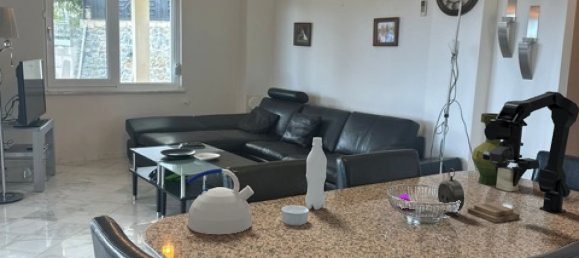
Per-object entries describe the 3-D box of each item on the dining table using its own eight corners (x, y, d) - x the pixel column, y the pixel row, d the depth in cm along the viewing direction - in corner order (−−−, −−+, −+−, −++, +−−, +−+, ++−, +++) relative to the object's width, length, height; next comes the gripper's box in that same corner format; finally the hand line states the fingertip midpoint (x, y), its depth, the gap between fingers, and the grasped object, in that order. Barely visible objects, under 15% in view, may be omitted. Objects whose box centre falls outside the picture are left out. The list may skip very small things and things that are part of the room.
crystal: (394, 205, 197) (394, 193, 196) (407, 205, 198) (408, 192, 197) (400, 210, 192) (401, 197, 191) (414, 209, 193) (415, 196, 192)
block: (505, 186, 187) (507, 166, 186) (518, 190, 183) (520, 169, 182) (496, 187, 185) (498, 167, 184) (508, 191, 181) (510, 170, 180)
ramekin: (291, 216, 181) (291, 203, 181) (313, 221, 176) (314, 208, 176) (275, 222, 174) (276, 209, 173) (298, 228, 169) (298, 215, 168)
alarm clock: (464, 218, 184) (467, 171, 182) (449, 218, 183) (453, 172, 181) (447, 208, 195) (450, 164, 192) (433, 209, 193) (436, 165, 191)
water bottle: (301, 208, 189) (304, 138, 186) (308, 203, 196) (311, 135, 192) (321, 211, 187) (324, 140, 183) (327, 206, 193) (330, 137, 189)
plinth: (491, 209, 196) (492, 201, 195) (519, 218, 185) (520, 210, 185) (467, 212, 190) (468, 204, 190) (494, 222, 180) (495, 214, 179)
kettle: (253, 235, 161) (254, 176, 159) (182, 235, 160) (183, 175, 157) (253, 215, 181) (254, 162, 179) (190, 214, 180) (190, 161, 177)
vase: (472, 186, 229) (478, 116, 225) (467, 177, 245) (472, 111, 240) (513, 188, 226) (520, 117, 222) (505, 179, 242) (511, 113, 238)
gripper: (473, 135, 186) (469, 180, 188) (520, 145, 170) (515, 193, 172) (495, 134, 191) (491, 177, 193) (542, 143, 175) (537, 190, 177)
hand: (507, 184), depth 184 cm, fingers closed on block, 5 cm apart
